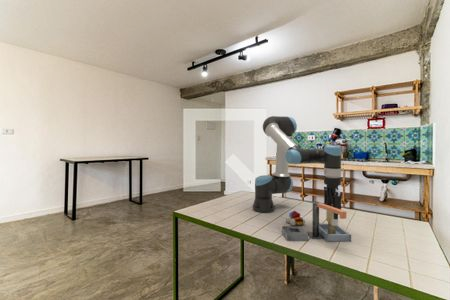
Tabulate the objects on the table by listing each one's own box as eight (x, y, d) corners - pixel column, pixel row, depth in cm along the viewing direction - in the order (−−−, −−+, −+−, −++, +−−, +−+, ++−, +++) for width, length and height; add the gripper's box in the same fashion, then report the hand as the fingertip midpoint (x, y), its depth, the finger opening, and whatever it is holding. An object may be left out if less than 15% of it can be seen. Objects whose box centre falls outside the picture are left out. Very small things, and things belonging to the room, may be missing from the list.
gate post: (307, 233, 109) (307, 203, 108) (319, 233, 108) (319, 203, 108) (312, 238, 103) (312, 207, 102) (324, 238, 102) (324, 207, 102)
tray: (315, 229, 113) (315, 223, 113) (335, 229, 113) (335, 223, 113) (327, 241, 99) (327, 234, 99) (351, 241, 99) (351, 234, 99)
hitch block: (281, 232, 111) (281, 226, 111) (301, 232, 111) (301, 226, 110) (287, 240, 101) (287, 234, 101) (308, 240, 101) (308, 234, 100)
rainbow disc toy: (293, 227, 116) (293, 214, 116) (284, 221, 126) (284, 209, 126) (306, 226, 119) (307, 213, 119) (296, 220, 128) (296, 208, 128)
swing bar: (341, 219, 90) (341, 212, 90) (311, 207, 106) (311, 201, 106) (346, 218, 91) (346, 211, 91) (315, 206, 107) (316, 201, 107)
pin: (326, 232, 108) (326, 207, 108) (333, 232, 108) (333, 207, 108) (329, 235, 105) (330, 209, 104) (337, 235, 105) (337, 209, 104)
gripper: (317, 174, 114) (316, 217, 115) (333, 179, 97) (333, 230, 97) (331, 174, 114) (330, 216, 115) (350, 179, 97) (349, 230, 97)
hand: (331, 223), depth 106 cm, fingers open, 5 cm apart
